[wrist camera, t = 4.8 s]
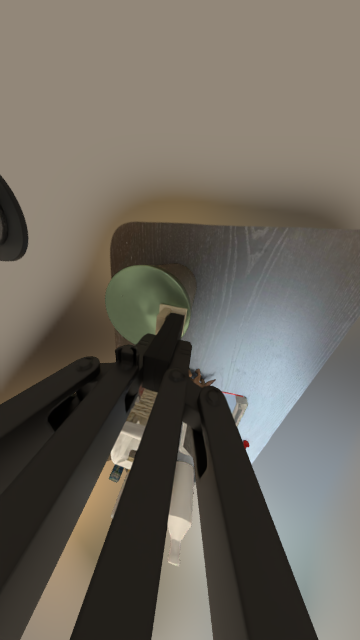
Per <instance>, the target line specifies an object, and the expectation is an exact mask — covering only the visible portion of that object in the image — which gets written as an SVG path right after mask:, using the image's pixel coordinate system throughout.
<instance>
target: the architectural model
mask: <svg viewBox="0 0 360 640" xmlns="http://www.w3.org/2000/svg"><path fill="white" fill-rule="evenodd" d="M222 393H223V394H224V396H225V397H226V400H227V402H228V405H229V407H230V410H231V413H232V415H233V418H234V421H235V423H236V426H238V424H239V422H240V420H241V418H242V416H243V414H244V412H245V410H246V408H247V406H248V402H247V399H246V397H243V396H240V395H235V394H231V393H226V392H222ZM179 451H180V452H181V453H183V454H186V455H189V456H192V457H193V451H192V442H191V433H190V427H189V426H188V425H187V424H185V423H184V424H183V430H182V436H181V442H180V448H179Z"/></svg>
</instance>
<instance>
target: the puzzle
mask: <svg viewBox="0 0 360 640" xmlns="http://www.w3.org/2000/svg"><path fill="white" fill-rule="evenodd" d="M123 469H124V467H122V466H119V465H117V464H115V466H114V468H113V471H112V472H111V474H110V477H109V479H110V480H112V481H114V482H118V481H119V479H120V476H121V474H122V471H123Z"/></svg>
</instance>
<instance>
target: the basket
mask: <svg viewBox="0 0 360 640" xmlns="http://www.w3.org/2000/svg"><path fill="white" fill-rule="evenodd" d="M156 396H157V392H154V391H151V390H147V389H144V391H143V393H142V396H141V398H140V401H139V402H138V403H135V406H134V408H133V409H132V410H131V412H130V414H129V416H128V418H127V420H126V422H125V424H124V426H123V428H122V430H121V432H120V434H119V436H118V439H117V441H116V443H115V445H114V447H113V449H112V451H111V458H112V461H113V463H114V464H117V465H119V466H122V467H124V468H127V469H131V466H132V463H133V460H134V458H131V457H128V456H129V453H130V451H131V450H136V451H137V449H138V446H139V444H140V441H141V438H142V435H143V432H144V430H145V427H146V424H147V421H148V418H149V416H150V413H151V410H152V407H153V404H154V401H155V399H156Z"/></svg>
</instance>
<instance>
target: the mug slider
mask: <svg viewBox="0 0 360 640" xmlns="http://www.w3.org/2000/svg"><path fill="white" fill-rule="evenodd" d="M170 313H176V314H181V315H185V319H186V314H187V309H185V308H180V307H175V306H171V305H166V304H160V308H159V314H158V315H157V319H156V332H155V335H156V334H157V333H158V331H159V330H160V328H161V327H162V325H163V324H164V322H165V320H166V319H167V317H168V316H169V314H170ZM185 319H184V324H185ZM183 330H184V325H183ZM183 330H182V334H183Z"/></svg>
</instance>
